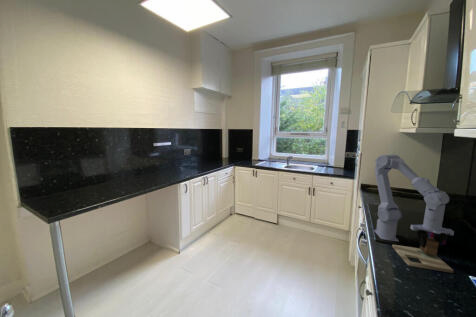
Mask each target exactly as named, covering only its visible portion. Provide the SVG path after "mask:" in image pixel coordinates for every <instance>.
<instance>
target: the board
mask: <svg viewBox="0 0 476 317" xmlns="http://www.w3.org/2000/svg"><path fill="white" fill-rule="evenodd" d="M391 248H393V250H394V251H395V252H396V253H397V254H398V255H399V257H400V258H401V259H402V260H403V262H405V263H406V265H408V266H410V267H415V268H421V269H427V270H431V271H432V270H433V271H439V272H444V273H449V274H450V273H451V274H453V273H454V269H453V268H452V267H451V266H449V265H448V264H447V263H446V262H445V261H443V260H442V259H441V257H438V254H437V255H431V254H425V253H424V252H423V251H422V250H421V249H420V247H413V246H406V245H405V246H404V245H397V244H392V246H391ZM410 259H417V260H418V261H419V262H418V261H411V260H410Z"/></svg>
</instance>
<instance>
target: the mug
mask: <svg viewBox="0 0 476 317" xmlns="http://www.w3.org/2000/svg"><path fill="white" fill-rule="evenodd" d="M427 234H428V235H429V236H428V237H430V238H433V232H428V233H427ZM446 236H448V234H446ZM447 240H448V238H447V239H446V240H444V241H443V242H442V243H441V244H440V246H445V245H446V244H447Z"/></svg>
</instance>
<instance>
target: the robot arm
mask: <svg viewBox="0 0 476 317" xmlns="http://www.w3.org/2000/svg"><path fill="white" fill-rule="evenodd" d="M374 161H375V167H374V174H375V180H376V184H377V191H378V195H379V200H380V204H379V205H378V207H377V209H378V211H377V216H378V219H377V221H376V228H375V229H374V230H373V231H374V232H375V234H376V235H377V236H378V237H379V238H380V239H381V240H383V241H384V240H385V241H392V242H400V241H399V239H398V238H397V237H396V236H397V229H398V228H397V227H398V223H399V220H400V219H402V216H403V215H402V212H401V210H400V209H399V206H398V205H397V203H395V201H394V198H393V192H392V187H391V184H390V183H391V182H390V178H389V172H390V171H391V170H393V169H394V170H397V171H399V172H400V173H401V174H402V175H403V176H405V177H406V178H407V179H408V180H410V181H411V186H412V187H413V188H414V189H415V190H416V191H417V192H418V193H419V194H420V195H422V196H423V200H424V202H425V204H426V206H425V212H424V215H423V216H424V217H423V222H422V223H423V224H410V227H409V229H410V230H411V231H413V232H414V231H415V232H416V234H417V237H418V240H419V246H420V245H421V246H422V247H424V248H425V245H426V240H427V238H428V236H429V235H428V233H427V232H433V239H435V240H436V241H437V242H439V244H438V248H439V247H440V246H441V245H440V244H441V243H442V242H443V241H444V240H446V239H447V240H448V235H449V236H454V234H455V231H454V230H452V229H451V228H446V227H443V226H442V225H443V221H444V215H445V209H446V204H448V203H449V202H450V196H449V195H448V194H447V192H445V191H443V190H440V189H439V188H438V187H436V186H435V185H433V184H432V182H430V180H429V179H428V178H426V177H423V176H422V177H420V176H418V174H417V173H416V172H414V169H412V168H411V167H410V166H409V165H407V163H406V162H405V160H404V158H402V157H400V156H399V155H398V154H395V153H394V154H381V155H379V156H378V157H377V158H376V159H375V160H374ZM446 234H447V236H446ZM447 240H446V241H447Z"/></svg>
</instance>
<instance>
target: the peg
mask: <svg viewBox="0 0 476 317" xmlns="http://www.w3.org/2000/svg"><path fill="white" fill-rule="evenodd" d="M438 244H439V242H437V241H436V240H435V239H433V238H430V237H428V238H427V240H426V245H425V248H424V247H422V246H421V245H420V244H419V248H420V249H421V250H422V251H423V252H424V253H425V254H431V255H437V256H438V254H437V253H438V249H439V247H438Z"/></svg>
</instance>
